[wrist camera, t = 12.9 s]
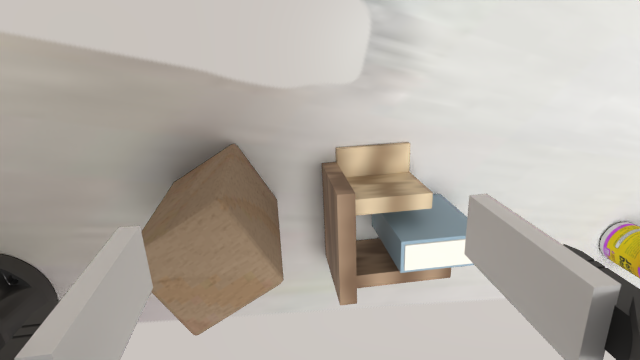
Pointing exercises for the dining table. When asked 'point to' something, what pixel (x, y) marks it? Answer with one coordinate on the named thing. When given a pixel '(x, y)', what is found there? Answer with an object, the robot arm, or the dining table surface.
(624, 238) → the supplement bottle
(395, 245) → the book box
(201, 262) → the wooden block
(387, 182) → the bookend
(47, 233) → the dining table surface
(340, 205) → the shelf corner
